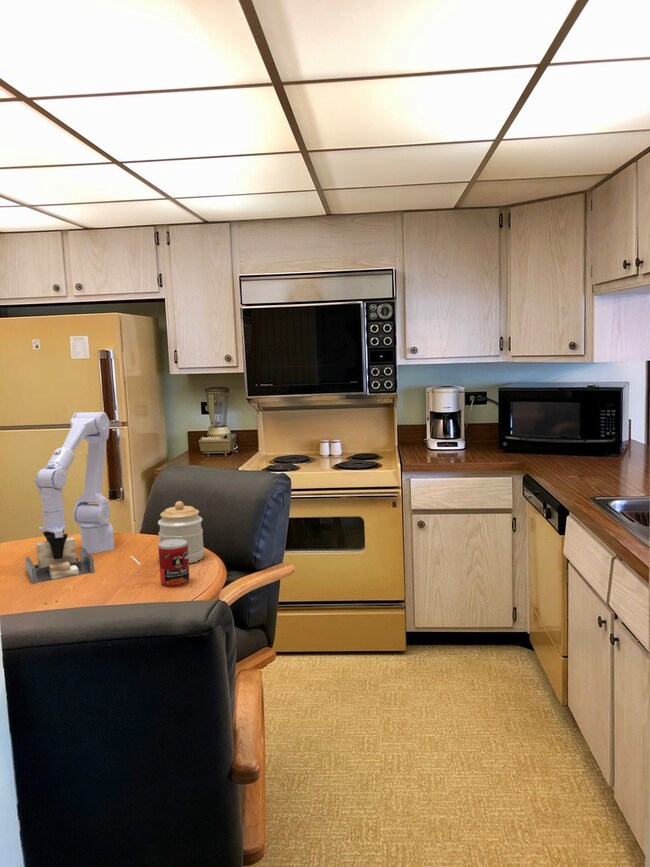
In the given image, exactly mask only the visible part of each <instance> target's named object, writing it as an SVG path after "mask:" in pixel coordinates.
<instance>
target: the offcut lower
mask: <svg viewBox="0 0 650 867" xmlns="http://www.w3.org/2000/svg"><path fill="white" fill-rule="evenodd" d="M70 569H71V570H67V571H62V572H56V573H51V572H50V570H49V573H50V576H51V578H52V579H54V578H60V577H65V576H71V575H76V574H79V571H78V568H77V566H76V565H74V566H70Z"/></svg>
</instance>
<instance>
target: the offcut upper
mask: <svg viewBox="0 0 650 867" xmlns="http://www.w3.org/2000/svg"><path fill="white" fill-rule="evenodd" d="M49 570H50V572H51V573H56V572H62V571H67V570H71V569H70V564H69V562H63V563H57V564H51V565H49Z"/></svg>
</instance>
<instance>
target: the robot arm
mask: <svg viewBox="0 0 650 867" xmlns="http://www.w3.org/2000/svg"><path fill="white" fill-rule="evenodd" d="M69 422H70V423H69V424H70V429H69V432H68V434H67V436H66V438H65V440H64V443H63V444H62V446H61V447H58V448H56V449H55V450H54V452H53V453H52V456H51V457H50V459H49V461H48V462H47V463H46V465H45V467H44V468H41V469H40V470H39V471H37V473H36V475H35V480H34V483H35V486H36V487H37V489H38V494H39V495H40V499H41V500H40V501H41V511H42V512H41V513H42V524H43V526H39V527H38V529H39V531H42V534H43V536H44V537H45V539H46V542H47V541H49V544H50V546H51V550H52V554H53V557H54V559H61V558H62V556H63V550H64V544H65V541H66V539H67V538H68V536H69V535H68V533H64V532H65V529H66V527H67V524H66V520H65V506H64V505H65V504H64V493H63V487H65V485H66V483H67V477H68V470H69V469H70V467H71V465H72V463H73V462H74V460H75V455H74V452H75V451H76V449H77V448H78V447H79V445H80V444H81V443H82V441H83V440H85V441H86V442H87V443H88V445H87V457H86V468H85V477H84V489H83V494H82V495H80V496H79V497H78V498H77V499H76V502H75V507H74V508H73V514H72V516H73V520H74V522H75V523H76V524H77V526H78V527H80V537H81V538H80V539H81V541H80V542H81V548H84V549H85V550H86V551H87V552H88V553H89V554H99V553H102V552H106V551H107V552H108V551H112V550H115V538H114V537H115V536H114V534H115V533H114V528H113V525H112V523H111V522H109V520H110V517H111V510H110V509H111V508H110V500H109V499H108V498H107V497H105V495H103V494H102V493H103V484H104V473H105V471H104V470H105V462H106V461H105V460H106V450H107V440H108V439H109V434H110V423H111V422H110V419H109V416H108V415H107V413H106V412H105V411H98V412H97V411H93V412H91V411H89V412H87V411H84V412H81V411H76V412H73V415H72V417H71V419H70V420H69Z"/></svg>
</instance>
